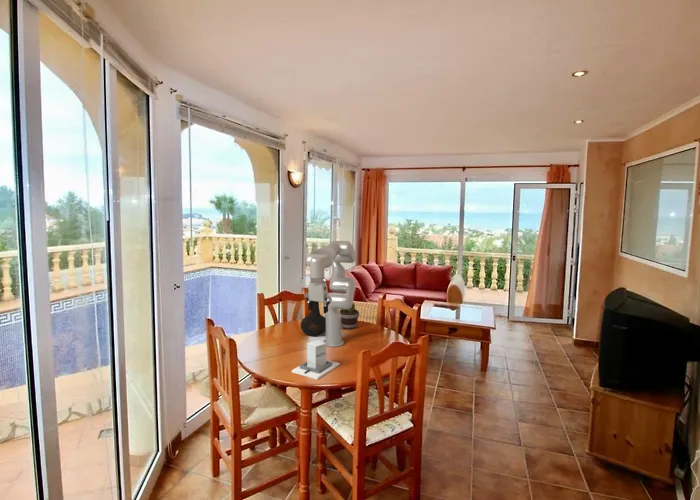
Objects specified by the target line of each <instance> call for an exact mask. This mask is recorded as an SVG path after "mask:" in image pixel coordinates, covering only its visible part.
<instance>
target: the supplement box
mask: <svg viewBox="0 0 700 500" xmlns="http://www.w3.org/2000/svg"><path fill="white" fill-rule="evenodd" d="M306 353H307V354H306V357H307V358H306V362H307V366H308V367H311V368H314V369H320V368H322V367H323V366H325V365H326V360H327V346H326V343H324V342H323V341H321V340H319V339H317V340H314V341H310V342H307V343H306Z"/></svg>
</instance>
